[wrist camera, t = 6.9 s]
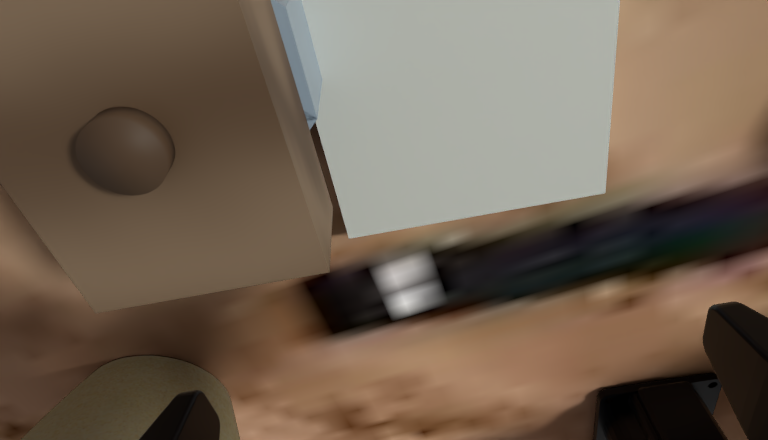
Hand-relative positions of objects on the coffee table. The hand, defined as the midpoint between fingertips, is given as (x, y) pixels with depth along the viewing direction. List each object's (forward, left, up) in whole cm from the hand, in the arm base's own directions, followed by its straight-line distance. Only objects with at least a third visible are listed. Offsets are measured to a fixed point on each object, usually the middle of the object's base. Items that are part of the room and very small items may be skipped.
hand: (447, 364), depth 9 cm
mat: (0, -2, -11) cm, 12 cm away
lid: (+3, +6, -7) cm, 10 cm away
